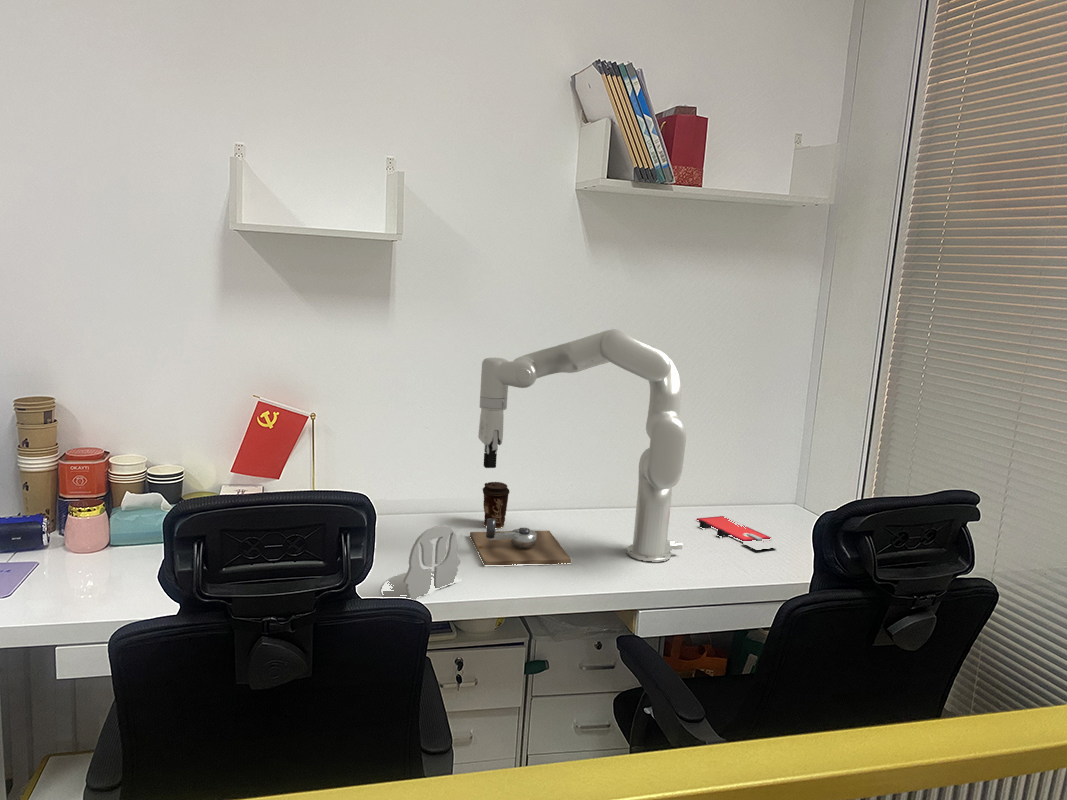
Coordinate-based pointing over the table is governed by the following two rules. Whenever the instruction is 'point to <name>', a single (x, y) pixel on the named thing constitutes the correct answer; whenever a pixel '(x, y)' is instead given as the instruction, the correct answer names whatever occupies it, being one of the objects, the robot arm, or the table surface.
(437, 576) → the ornament
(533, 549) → the board
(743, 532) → the red board with handle
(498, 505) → the coffee cup
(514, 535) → the grey crank handle
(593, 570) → the table surface
